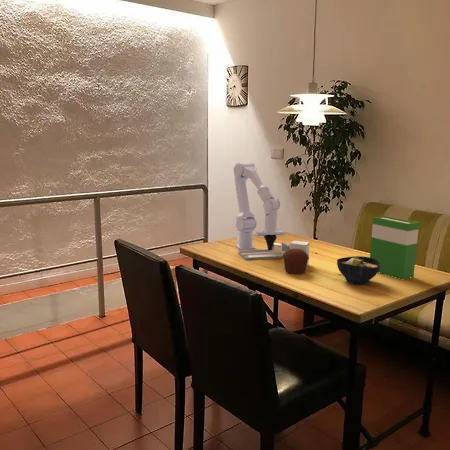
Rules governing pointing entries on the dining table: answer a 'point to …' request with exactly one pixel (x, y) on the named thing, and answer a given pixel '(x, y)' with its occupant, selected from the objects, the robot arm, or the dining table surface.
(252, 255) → the gauge board
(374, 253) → the hardback book
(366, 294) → the dining table surface
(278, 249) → the gauge slider
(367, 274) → the bowl
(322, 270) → the dining table surface
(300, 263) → the muffin
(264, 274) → the dining table surface
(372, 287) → the dining table surface
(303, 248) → the small box
